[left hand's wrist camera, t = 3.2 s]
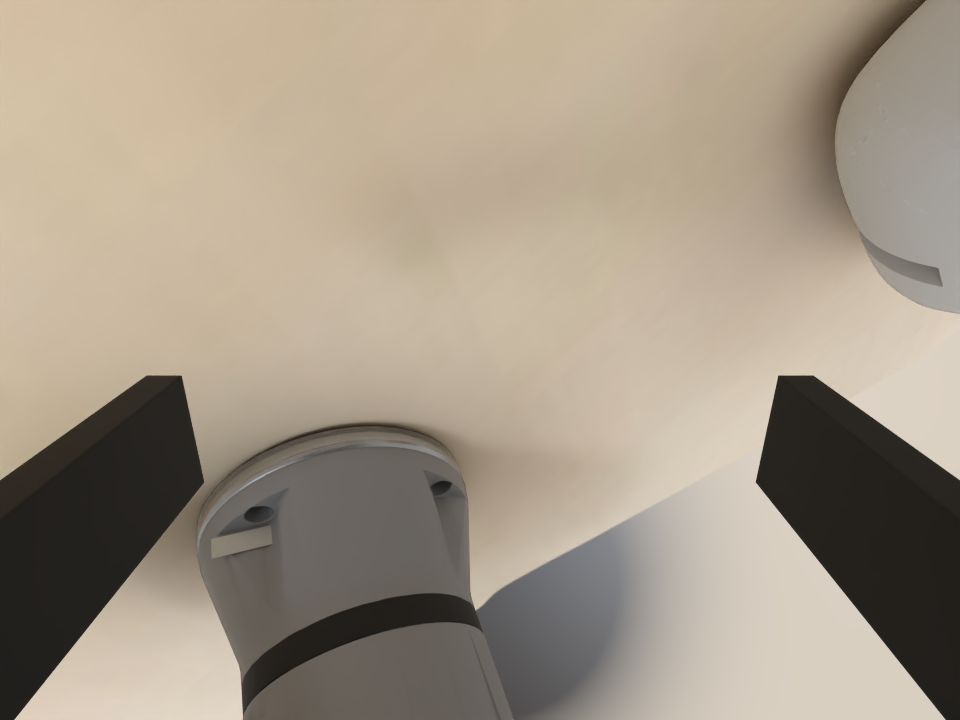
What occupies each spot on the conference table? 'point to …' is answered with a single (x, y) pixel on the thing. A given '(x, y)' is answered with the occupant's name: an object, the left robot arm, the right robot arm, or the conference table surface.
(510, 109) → the conference table surface
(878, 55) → the projector
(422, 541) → the left robot arm
